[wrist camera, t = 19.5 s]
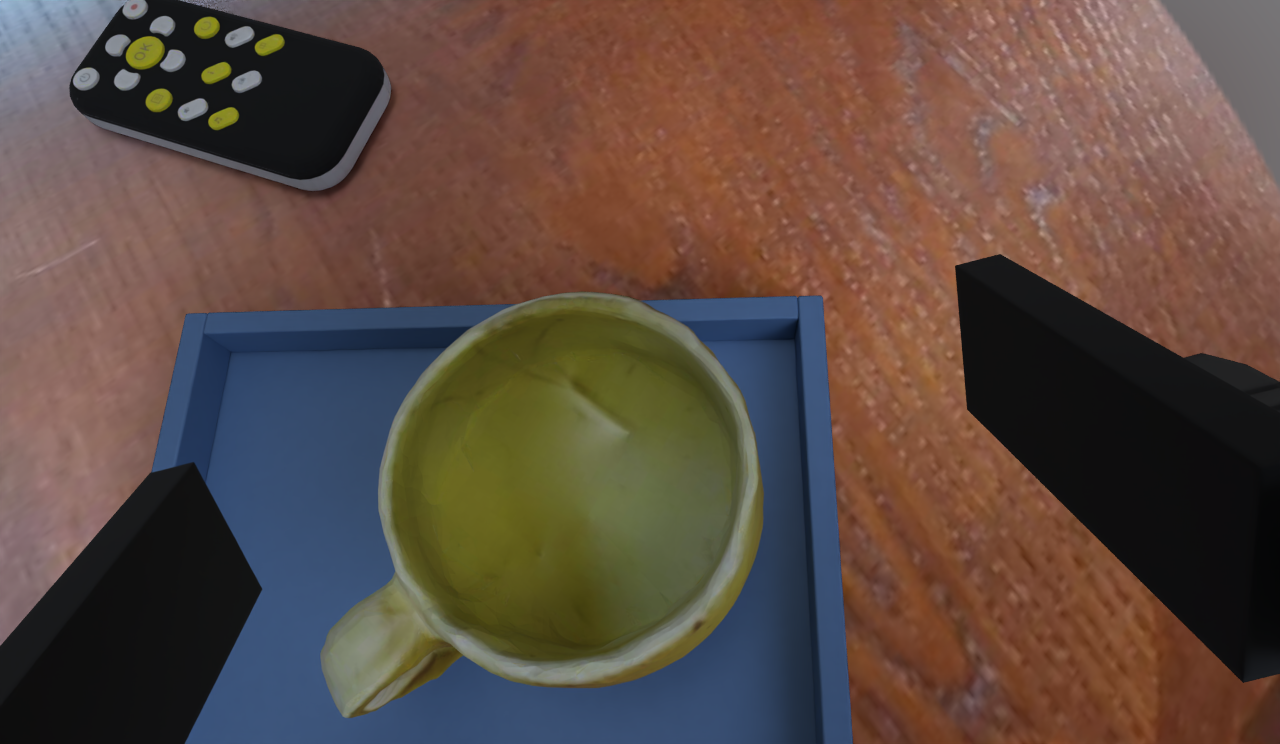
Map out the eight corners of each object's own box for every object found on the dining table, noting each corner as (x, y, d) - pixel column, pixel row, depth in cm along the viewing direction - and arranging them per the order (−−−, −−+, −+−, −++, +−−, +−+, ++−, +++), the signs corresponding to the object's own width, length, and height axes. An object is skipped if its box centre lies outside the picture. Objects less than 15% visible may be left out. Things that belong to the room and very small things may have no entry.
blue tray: (815, 324, 29) (822, 294, 27) (864, 1094, 22) (880, 1141, 19) (224, 339, 31) (184, 312, 29) (82, 1047, 24) (15, 1085, 21)
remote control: (339, 206, 33) (315, 177, 31) (80, 126, 35) (44, 95, 33) (408, 80, 34) (390, 46, 33) (157, 13, 37) (126, -22, 35)
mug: (670, 257, 28) (632, 204, 18) (826, 530, 27) (876, 632, 17) (363, 437, 29) (168, 482, 19) (507, 699, 29) (385, 883, 19)
